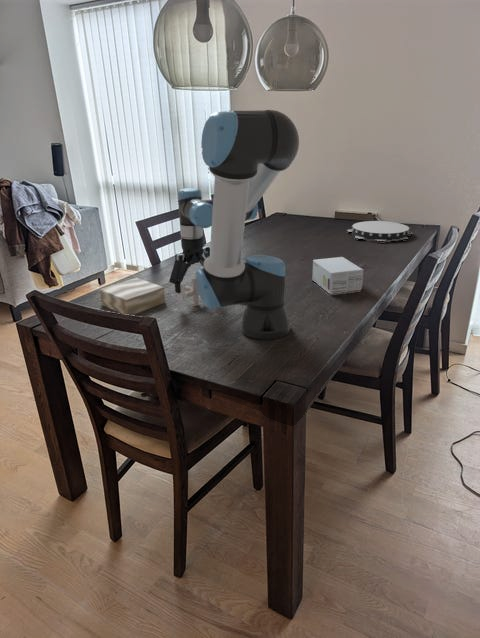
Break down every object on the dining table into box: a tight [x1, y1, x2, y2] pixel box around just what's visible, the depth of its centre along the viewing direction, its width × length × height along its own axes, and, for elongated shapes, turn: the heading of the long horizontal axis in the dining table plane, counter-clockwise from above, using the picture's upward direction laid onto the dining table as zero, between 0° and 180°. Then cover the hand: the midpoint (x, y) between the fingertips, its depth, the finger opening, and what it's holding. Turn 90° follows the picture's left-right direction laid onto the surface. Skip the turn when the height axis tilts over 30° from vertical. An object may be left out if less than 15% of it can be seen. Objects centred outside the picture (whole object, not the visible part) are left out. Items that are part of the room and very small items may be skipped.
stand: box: [99, 277, 166, 316], centre depth 168 cm, size 16×16×6 cm
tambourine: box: [346, 220, 413, 241], centre depth 251 cm, size 34×33×5 cm
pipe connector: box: [183, 276, 200, 307], centre depth 165 cm, size 10×10×10 cm
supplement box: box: [311, 256, 365, 294], centre depth 179 cm, size 17×13×9 cm
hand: (195, 295), depth 166 cm, fingers open, 13 cm apart
